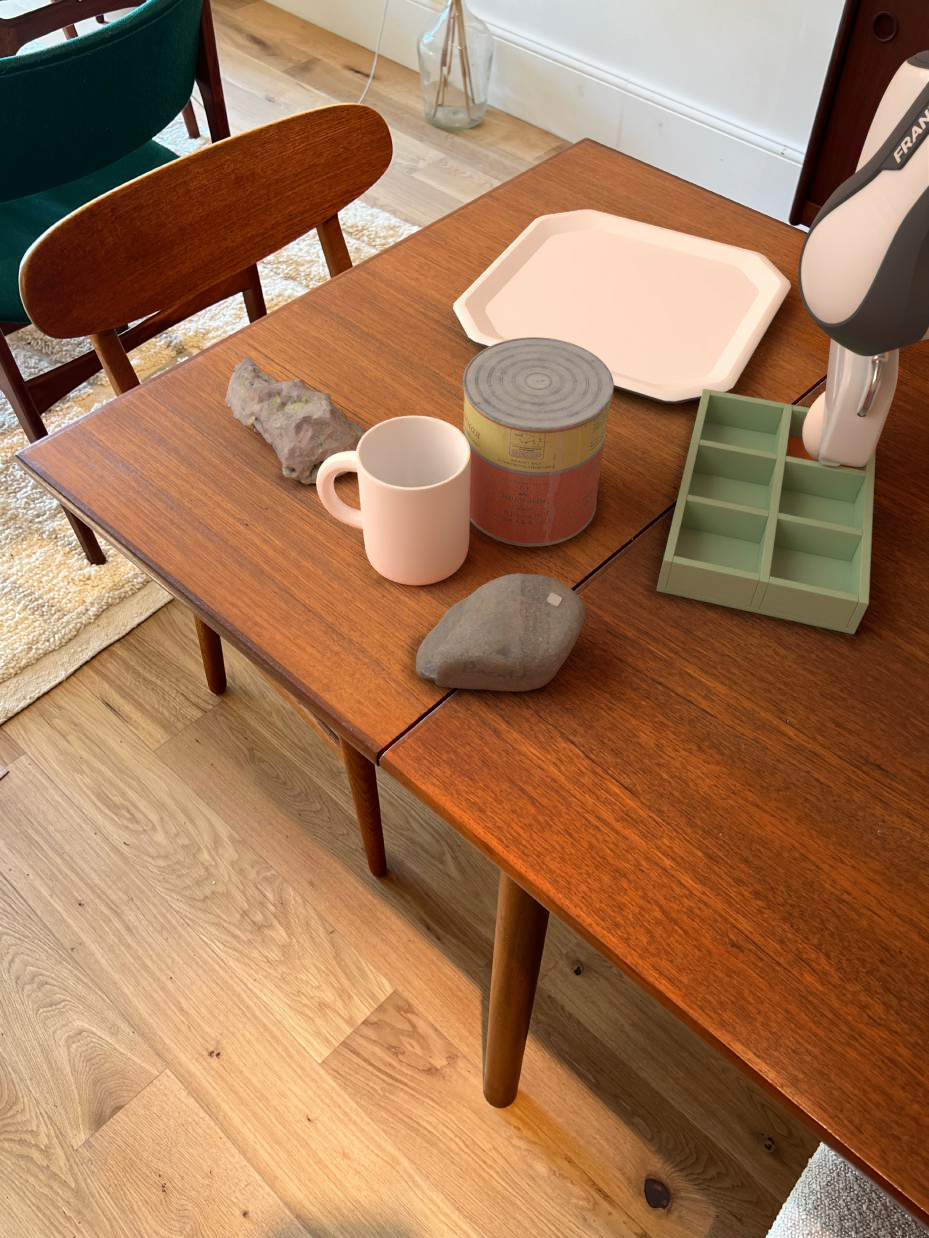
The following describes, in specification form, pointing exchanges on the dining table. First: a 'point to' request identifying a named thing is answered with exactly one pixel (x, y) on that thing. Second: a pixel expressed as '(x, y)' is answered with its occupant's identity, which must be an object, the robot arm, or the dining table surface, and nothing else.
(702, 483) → the carton
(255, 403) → the rock
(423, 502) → the mug
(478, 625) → the stone
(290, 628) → the dining table surface
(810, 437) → the egg
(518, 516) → the canned food
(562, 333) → the plate
